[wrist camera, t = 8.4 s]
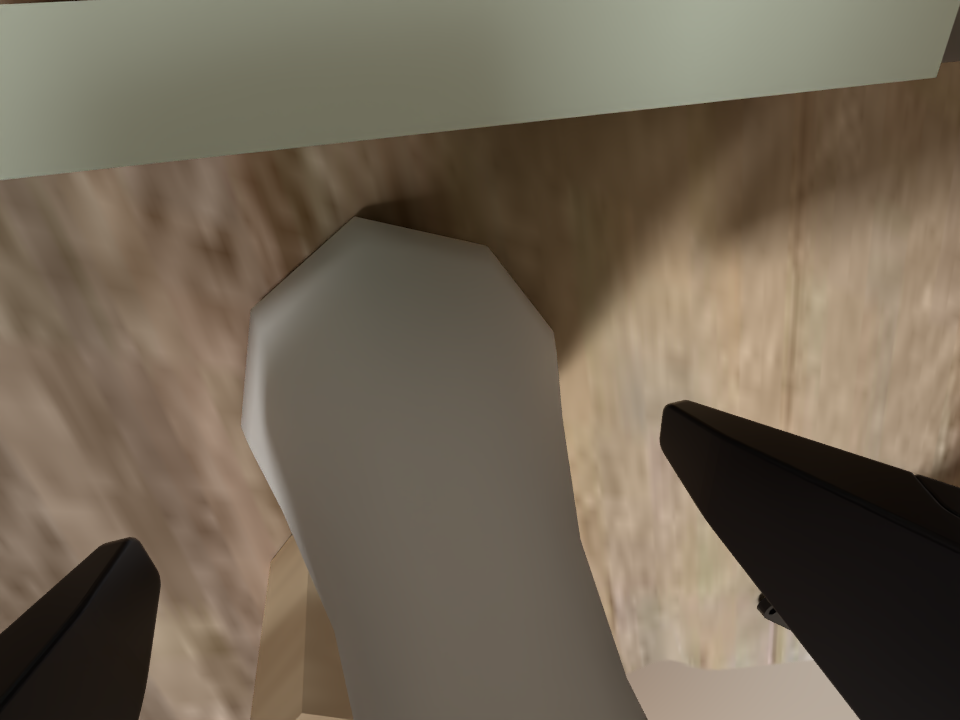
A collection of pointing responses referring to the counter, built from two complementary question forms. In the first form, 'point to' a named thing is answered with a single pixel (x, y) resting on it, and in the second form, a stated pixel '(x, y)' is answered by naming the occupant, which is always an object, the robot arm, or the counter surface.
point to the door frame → (325, 623)
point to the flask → (430, 481)
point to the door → (410, 67)
